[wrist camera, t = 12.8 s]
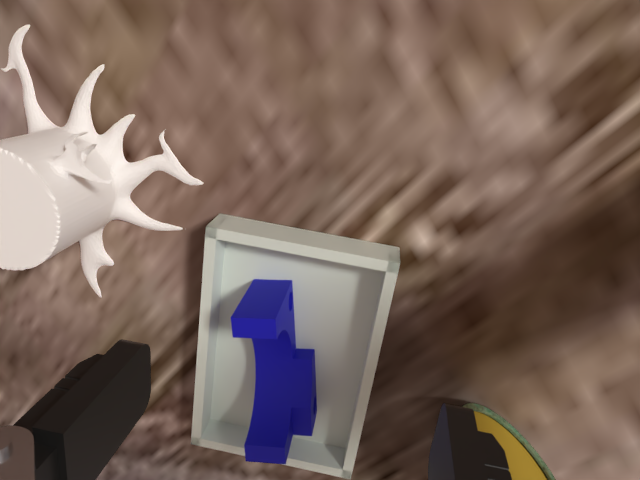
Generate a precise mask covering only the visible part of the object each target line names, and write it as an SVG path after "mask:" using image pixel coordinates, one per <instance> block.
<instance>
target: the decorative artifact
mask: <svg viewBox="0 0 640 480" xmlns="http://www.w3.org/2000/svg"><path fill="white" fill-rule="evenodd" d="M462 407H465V408H471V409H473V411H474V414H475V419H476V424H477V429H478V431H481V432H486V433H491V434H493V436H494V437H495V438H496V440H497V441H498V442H499V444H500V445H501V446H502V448H503V449H504V451H505V454H506V458H507V462H508V466H509V472H510V474H511V477H512V480H556V479H555V478H554V476H553V474H552V473H551V471H550V470H549V468H548V467H547V465H546V464H545V462H544V461H543V460H542V458H541V457H540V456H539V454H538V453H537V452H536V451H535V449H534V448H533V447H532V446H531V445H530V444H529V442H528V441H527V440H526V439H525V438H524V437H523V436H522V435H521V434H520V433H519V432H518V431H517V430H516V429H515V428H514V427H513V426H512V425H510V424H509V423H508V422H507V421H506V420H505V419H503V418H502V417H501V416H499V415H498V414H496V413H495V412H493V411H492V410H490V409H488V408H486V407H484V406H482V405H479V404H475V403H468V404H465V405H463V406H462Z"/></svg>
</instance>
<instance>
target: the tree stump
mask: <svg viewBox="0 0 640 480" xmlns="http://www.w3.org/2000/svg"><path fill="white" fill-rule="evenodd" d="M29 28H30V25H24V26H23V27H21V28H20V29H18V30H17V32H16V33H15V34H14V36H13V38H12V40H11V42H10V45H9V59H8V65H7V66H6V68H4V69H2V70H3V71H5V72H7V71H8V70H10V69H11V68H15V69H16V70H17V71H18V73H19V76H20V79H21V82H22V86H23V103H24V108H25V113H26V118H27V126H28V134H25V135H21V136H16V137H11V138H7V139H2V140H0V268H1V269H7V270H25V269H30V268H33V267H37V265H39V264H41V263H43V262H44V261H46V260H48V259H49V258H51V257H53V256H54V255H56V254H58V253H59V252H61V251H63V250H64V249H66V248H68V247H69V246H71V245H73V244H74V243H76V242H78V241H79V243H80V249H81V264H82V268H83V272H84V275H85V276H86V278H87V280H88V282H89V284H90V286H91V287H92V288H93V290H94V291H95V292H96V293H97V295H98V296H100V297H102V296H101V291H100V289H99V287H98V283H97V279H96V273H97V269H98V268H99V267H100V266H102V265H108V266H113V265H114V262H113V260H112V259H111V258H110V257H109V256H108V254H107V253H106V251H105V249H104V246H103V241H102V232H103V229H104V227H105V225H106V224H108V223H109V222H110V221H111V220H116V219H117V220H123V221H126V222H129V223H132V224H134V225H137V226H140V227H143V228H147V229H152V230H162V231H169V230H180V229H181V230H182V229H183V228H181V227H177V226H174V225H170V224H166V223H161V222H159V221H156V220H154V219H151V218H150V217H148V216H147V215H145V214H144V213H143V212H142V211H141V210H139V209H138V207H137V206H136V205H135V204H134V203H133V202H132V200H131V199H130V194H131V192H132V191H133V189H134V188H135V187H136V186H137V185H139V184H140V183H141V182H142V181H143V180H144V179H145V178H146V177H147V176H149V175H150V174H151V173H152V172H154V171H157V170H160V171H164V172H167V173H168V174H170V175H172V176H174V177H176V178H177V179H179V180H181V181H182V182H184V183H187V184H189V185H201V184H202V185H203V182H202V181H200V180H198V179H196V178H194V177H192V176H191V175H189V174H188V173H187V171H186V170H185V169H184V168H183V167H182V165H181V164H180V163H179V161H178V160H177V158H176V157H175V156H174V154H173V152H172V151H171V150H170V148H169V147H168V145H167V144H166V143H165V141H164V131H163V132H162V133H161V134H160V136H159V141H160V143H161V146H162V149H163V150H164V153H163V154H162V155H155V156H151V157H148V158H146V159H144V160H141V161H138V162H133V163H130V162H127V161H126V160H125V158H124V155H123V147H122V143H123V136H124V133H125V131H126V129H127V127H128V126H129V124H130V123H131V121H132V120H133V118H134V117H135V115H134V114H130V115H127V116H125V117H124V118H122V119H121V120H119V121H118V122H117V123H116V124H114V125H113V126H112V127H111V128H110V129H109V130H108V131H107V132H106V133H104V134H103V135H99V134H98V133H97V132H96V131H95V128H94V126H93V122H92V118H91V112H90V102H91V95H92V91H93V88H94V85H95V83H96V80H97V78H98V76H99V74H100V73H101V72H102V71H103V70H104V64H103V65H100V66H99V67H97V68H96V69H95V70H94V71H93V72H92V73H91V74H90V76H89V77H88V78H87V79H86V80H85V81H84V83H83V85H82V86H81V88H80V90H79V92H78V94H77V96H76V98H75V101H74V104H73V107H72V110H71V113H70V117H69V119H68V122H67V123H66V125H65V126H64V127H58V126H56V125H55V124H53V123H52V122H51V121H50V120H49V119H48V118H47V117H46V115H45V114H44V113H43V111H42V110H41V108H40V107H39V105H38V103H37V100H36V97H35V92H34V88H33V84H32V79H31V77H30V74H29V70H28V68H27V66H26V63H25V61H24V58H23V55H22V50H21V46H22V41H23V38H24V35H25V33H26V32H27V31H28V29H29Z"/></svg>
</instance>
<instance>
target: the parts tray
mask: <svg viewBox="0 0 640 480" xmlns="http://www.w3.org/2000/svg"><path fill="white" fill-rule="evenodd" d="M399 267H400V249H399V247H395V246H390V245H384V244H379V243H374V242H368V241H363V240H358V239H352V238H347V237H342V236H336V235H331V234H326V233H320V232H315V231H310V230H304V229H299V228H294V227H288V226H283V225H278V224H272V223H267V222H262V221H256V220H251V219H246V218H240V217H235V216H230V215H224V214H219V215H218V216H216V217H215V218H214V219H213V220H212V221H211V222H210V223H209V224H208V225H207V226H206V231H205V245H204V260H203V274H202V288H201V303H200V317H199V332H198V346H197V361H196V375H195V390H194V404H193V419H192V433H191V444H193V445H197V446H202V447H206V448H211V449H215V450H220V451H224V452H229V453H233V454H238V455H242V456H245V449H244V444H245V441H246V438H247V434H248V431H249V427H250V422H251V417H252V411H253V404H254V395H255V378H256V368H255V353H254V347H253V342H252V339H251V338H234V337H233V335H232V326H231V316H232V314H233V313H234V311H235V309H236V308H237V306H238V304H239V303H240V301H241V300H242V298H243V296H244V295H245V293H246V291H247V290H248V288H249V286H250V285H251V283H252V281H253V280H254V279H267V280H292V284H293V302H294V320H295V338H296V348H299V349H315V371H316V395H317V414H316V419H315V424H314V429H313V434H312V436H300V435H293V437H292V441H291V445H290V449H289V453H288V457H287V461H286V464H283V465H288V466H292V467H297V468H301V469H306V470H310V471H315V472H319V473H324V474H328V475H333V476H337V477H342V478H346V479H351V476H352V472H353V467H354V463H355V458H356V454H357V450H358V445H359V441H360V437H361V432H362V428H363V424H364V419H365V415H366V410H367V406H368V402H369V397H370V393H371V389H372V384H373V380H374V376H375V371H376V367H377V362H378V358H379V354H380V349H381V345H382V341H383V336H384V332H385V328H386V323H387V319H388V314H389V310H390V306H391V301H392V297H393V293H394V288H395V284H396V280H397V275H398V271H399Z"/></svg>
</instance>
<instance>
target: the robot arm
mask: <svg viewBox="0 0 640 480" xmlns="http://www.w3.org/2000/svg"><path fill="white" fill-rule="evenodd" d="M150 392H151V363H150V347H149V345H147V344H142V343H137V342H132V341H127V340H119V341H118V342H117V343H116V344H115V345H114V346H113V347H112V348H111V349H110V350H109V351H108V352H107V353H106V354H105V355H100V354H96V355H94V356H92V357H90V358H88V359H86V360H84V361H82V362H80V363H78V364H77V365H76V366H75V367H74V368H73V369H72V370H71V371H70V372H69V373H68V374H67V375H66V376H65V379H64V378H63V379H62V380H61V381H59V382H58V383H57V384H56V385H55V387H54V389H51V390H50V391H49V392H48V393H47V394H46V395H45V396H44V397H43V398H42V399H40V400H39V401H38V402H37V403H36V404H35V405H34V406H33V407H32V408H31V409H30V410H29V411H28V412H27V413H26V414H25V415H24V416H23V417H21V418H20V419H19V420H18V421H17V422H16V423H15V424H14V425H13V426H1V427H0V480H95V479H96V478H97V477H98V475H99V474H100V473H101V471H102V470H103V468H104V467H105V466H106V464H107V463H108V462H109V460H110V459H111V457H112V456H113V455H114V453H115V452H116V451H117V449H118V448H119V446H120V445H121V444H122V442H123V441H124V439H125V438H126V437H127V435H128V434H129V433H130V431H131V430H132V428H133V427H134V426H135V424H136V423H137V422H138V420H139V419H140V417H141V416H142V415H143V413H144V411H145V409H146V407H147V405H148V402H149V398H150ZM428 480H512V477H511V474H510V472H509V466H508V462H507V458H506V454H505V451H504V449H503V448H502V446H501V445H500V444H499V442H498V441H497V440H496V438H495V437H494V436H493V434H491V433H486V432H481V431H478V429H477V424H476V419H475V414H474V411H473V409H471V408H465V407H460V406H455V405H450V404H445V403H444V404H443V405H442V407H441V410H440V414H439V418H438V422H437V426H436V430H435V434H434V438H433V441H432V445H431V450H430V455H429V464H428Z"/></svg>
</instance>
